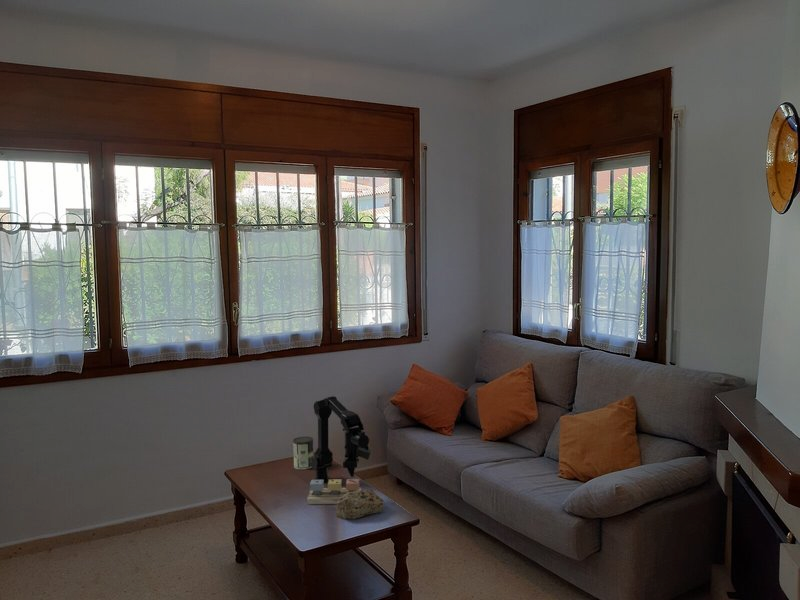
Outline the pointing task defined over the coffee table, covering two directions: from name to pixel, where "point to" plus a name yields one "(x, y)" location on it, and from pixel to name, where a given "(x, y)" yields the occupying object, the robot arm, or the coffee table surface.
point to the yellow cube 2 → (334, 486)
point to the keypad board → (326, 497)
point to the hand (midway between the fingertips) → (352, 476)
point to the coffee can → (303, 452)
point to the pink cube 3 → (352, 485)
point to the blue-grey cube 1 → (316, 486)
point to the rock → (358, 504)
